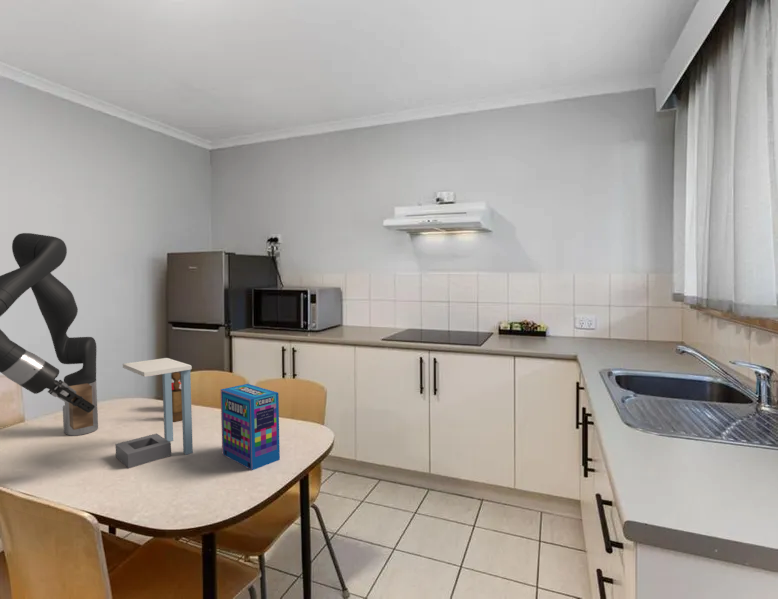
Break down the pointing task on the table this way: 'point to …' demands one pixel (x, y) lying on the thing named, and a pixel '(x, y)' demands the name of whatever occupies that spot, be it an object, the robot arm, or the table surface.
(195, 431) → the table surface
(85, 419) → the walnut peg
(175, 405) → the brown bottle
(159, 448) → the socket
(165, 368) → the two-legged side table
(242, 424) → the box
